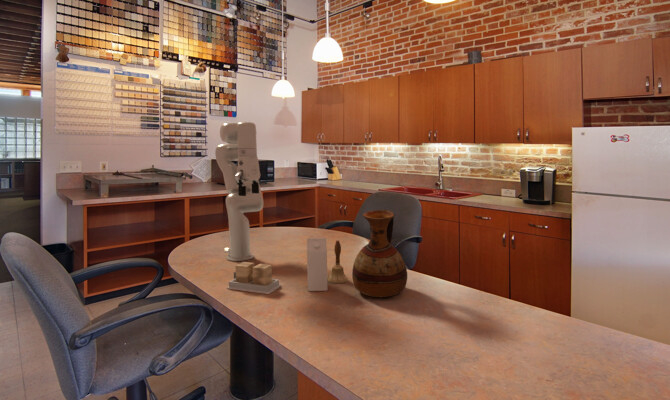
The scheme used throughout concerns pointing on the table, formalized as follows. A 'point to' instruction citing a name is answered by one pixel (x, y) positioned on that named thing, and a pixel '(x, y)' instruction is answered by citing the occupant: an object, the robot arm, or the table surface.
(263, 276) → the block
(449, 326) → the table surface
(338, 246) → the hand bell
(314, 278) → the milk carton
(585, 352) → the table surface
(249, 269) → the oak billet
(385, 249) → the ceramic pitcher
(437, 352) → the table surface
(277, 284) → the grey divided tray
